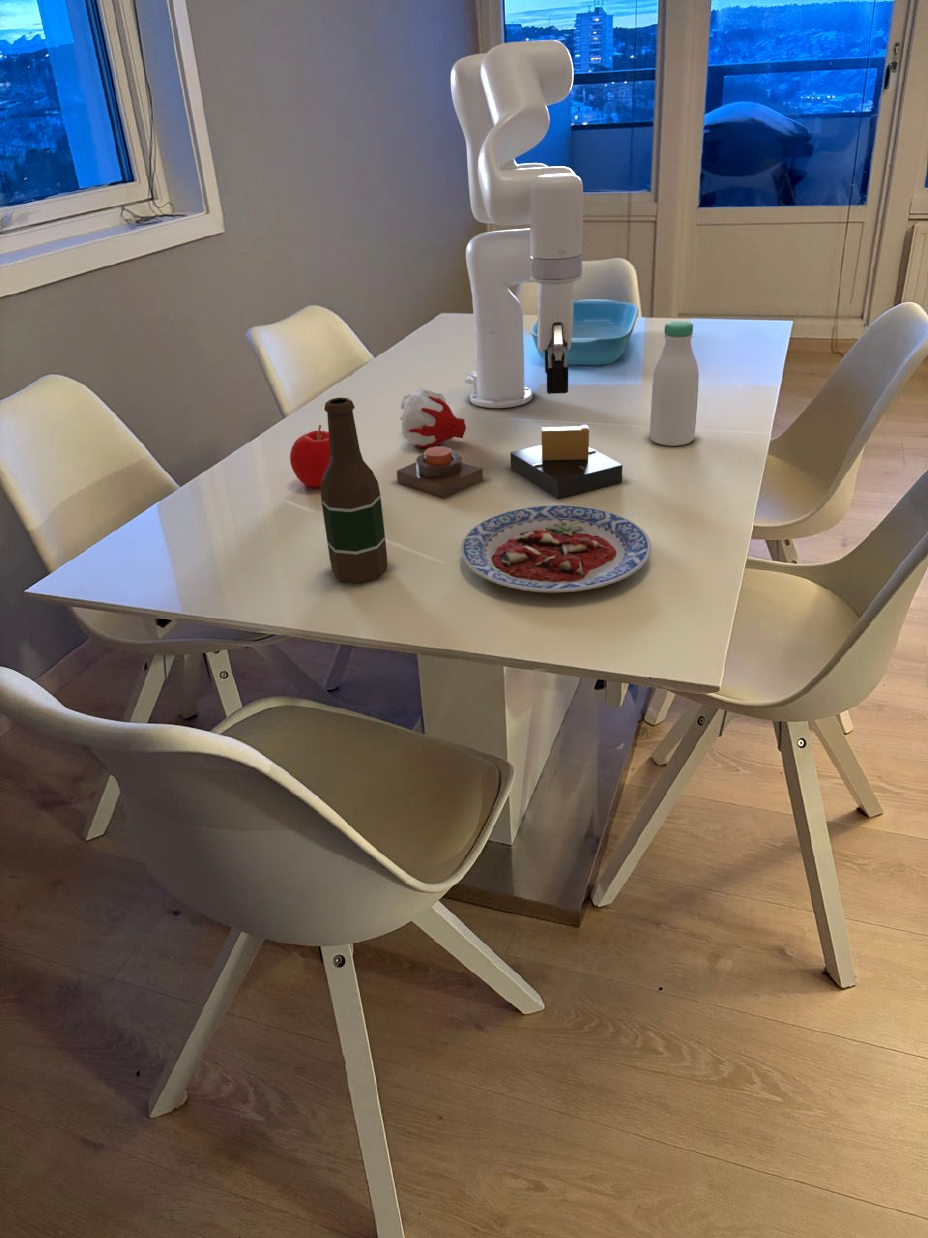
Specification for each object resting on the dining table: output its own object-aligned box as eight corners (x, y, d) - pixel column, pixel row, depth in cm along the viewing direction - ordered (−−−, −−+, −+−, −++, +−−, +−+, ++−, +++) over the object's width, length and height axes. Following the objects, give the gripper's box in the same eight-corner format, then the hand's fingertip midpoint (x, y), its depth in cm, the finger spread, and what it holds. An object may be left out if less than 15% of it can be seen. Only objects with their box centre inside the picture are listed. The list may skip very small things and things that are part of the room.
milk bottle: (694, 447, 162) (703, 329, 151) (648, 446, 163) (654, 329, 153) (694, 431, 168) (702, 317, 158) (650, 430, 170) (656, 317, 159)
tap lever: (541, 460, 152) (541, 429, 149) (541, 456, 154) (541, 425, 151) (588, 459, 152) (589, 428, 149) (588, 455, 153) (588, 424, 150)
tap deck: (510, 469, 158) (510, 451, 156) (571, 454, 162) (571, 436, 161) (557, 499, 146) (557, 480, 145) (622, 482, 151) (622, 463, 149)
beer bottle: (332, 560, 133) (308, 393, 120) (388, 555, 133) (369, 388, 120) (330, 586, 126) (305, 413, 113) (388, 581, 126) (369, 407, 114)
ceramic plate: (601, 624, 114) (601, 602, 112) (425, 578, 126) (423, 559, 125) (679, 538, 132) (680, 519, 131) (518, 506, 145) (518, 488, 143)
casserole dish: (626, 372, 201) (627, 338, 197) (523, 370, 206) (522, 337, 202) (641, 328, 231) (643, 298, 227) (551, 327, 236) (551, 298, 233)
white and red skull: (407, 425, 178) (479, 443, 173) (377, 445, 169) (453, 464, 164) (408, 379, 173) (483, 395, 168) (378, 397, 164) (456, 415, 159)
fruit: (333, 496, 152) (325, 437, 147) (284, 491, 155) (274, 432, 150) (358, 474, 159) (351, 417, 154) (311, 470, 162) (302, 414, 157)
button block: (397, 482, 155) (395, 460, 153) (435, 466, 161) (434, 443, 159) (445, 498, 149) (443, 475, 147) (483, 480, 154) (482, 457, 152)
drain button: (419, 462, 153) (418, 452, 152) (438, 454, 156) (437, 444, 155) (438, 468, 150) (438, 458, 149) (457, 459, 153) (457, 449, 152)
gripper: (529, 256, 145) (531, 366, 154) (531, 282, 130) (533, 401, 139) (578, 254, 145) (577, 364, 154) (585, 279, 130) (583, 400, 139)
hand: (556, 382), depth 147 cm, fingers open, 9 cm apart
